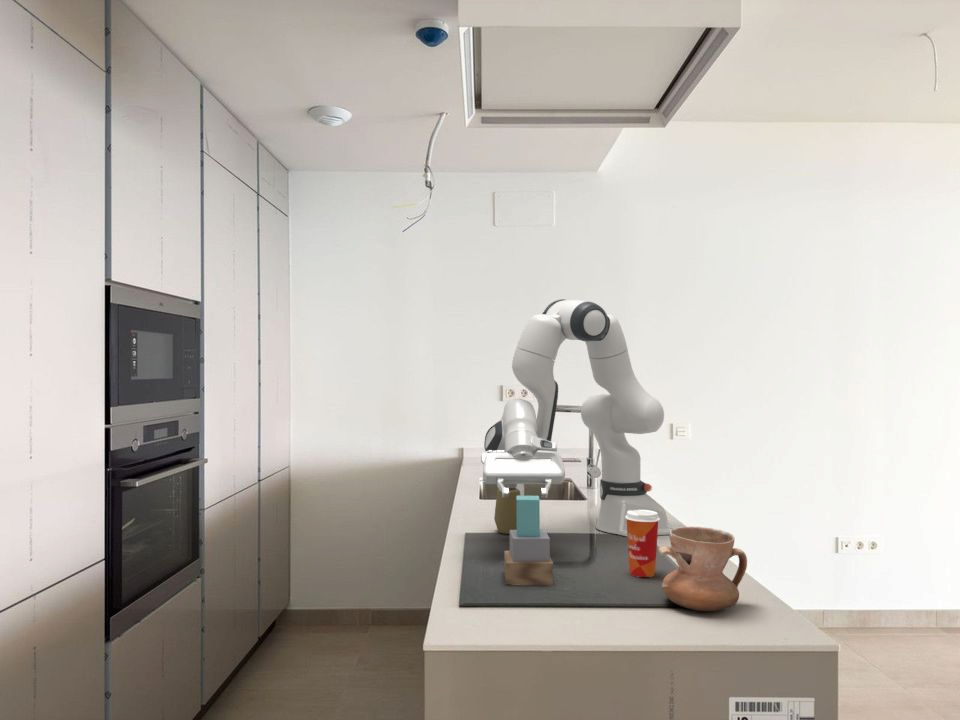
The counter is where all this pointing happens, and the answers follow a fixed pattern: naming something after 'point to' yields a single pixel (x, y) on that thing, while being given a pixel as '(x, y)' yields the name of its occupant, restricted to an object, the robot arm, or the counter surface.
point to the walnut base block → (527, 572)
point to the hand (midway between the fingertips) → (525, 496)
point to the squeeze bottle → (506, 509)
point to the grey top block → (529, 547)
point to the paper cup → (642, 541)
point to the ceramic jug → (702, 569)
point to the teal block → (528, 516)
